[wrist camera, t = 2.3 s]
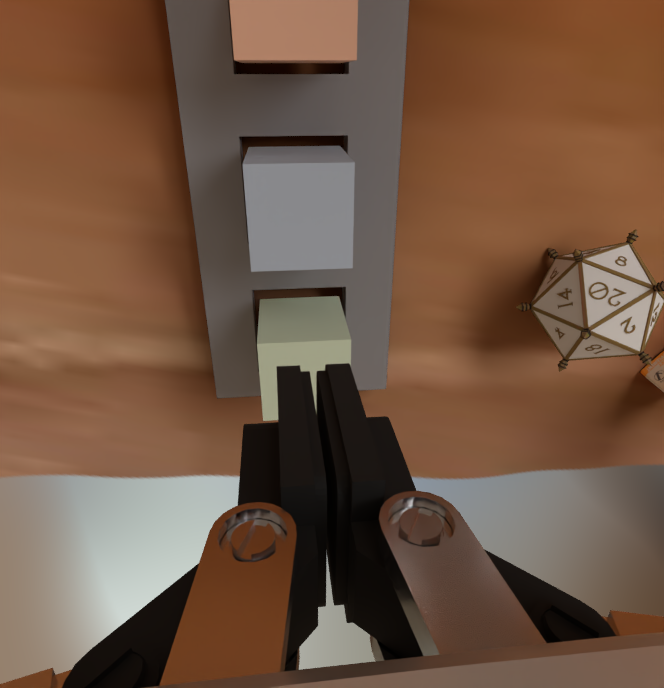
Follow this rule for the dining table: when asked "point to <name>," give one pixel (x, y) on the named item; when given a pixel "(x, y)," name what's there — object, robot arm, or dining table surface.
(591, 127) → the dining table surface
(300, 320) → the sage block
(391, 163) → the board
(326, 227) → the slate block
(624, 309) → the game die
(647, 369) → the supplement box
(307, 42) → the terracotta block
